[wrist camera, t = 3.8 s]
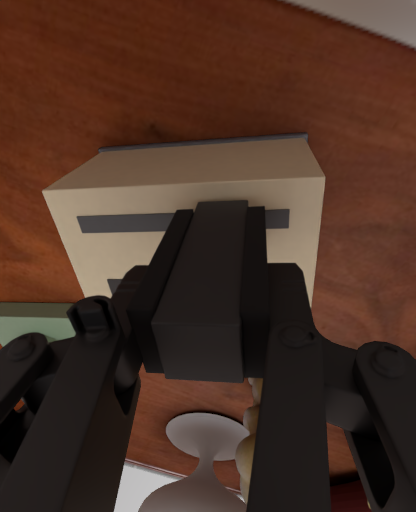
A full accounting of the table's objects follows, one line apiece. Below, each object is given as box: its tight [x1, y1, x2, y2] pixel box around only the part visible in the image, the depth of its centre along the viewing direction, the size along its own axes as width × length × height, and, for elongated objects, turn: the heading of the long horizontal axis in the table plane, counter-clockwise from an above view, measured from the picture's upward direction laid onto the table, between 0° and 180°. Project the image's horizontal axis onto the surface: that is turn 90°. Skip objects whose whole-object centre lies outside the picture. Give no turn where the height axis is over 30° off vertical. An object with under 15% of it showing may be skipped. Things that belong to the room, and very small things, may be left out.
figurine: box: [235, 378, 263, 505], centre depth 28 cm, size 10×8×15 cm
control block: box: [0, 302, 76, 347], centre depth 34 cm, size 12×10×4 cm
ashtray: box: [330, 480, 372, 512], centre depth 43 cm, size 18×16×5 cm
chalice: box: [138, 413, 249, 512], centre depth 37 cm, size 14×14×15 cm
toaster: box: [42, 132, 325, 307], centre depth 21 cm, size 12×14×8 cm
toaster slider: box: [151, 200, 249, 383], centre depth 12 cm, size 2×2×8 cm
